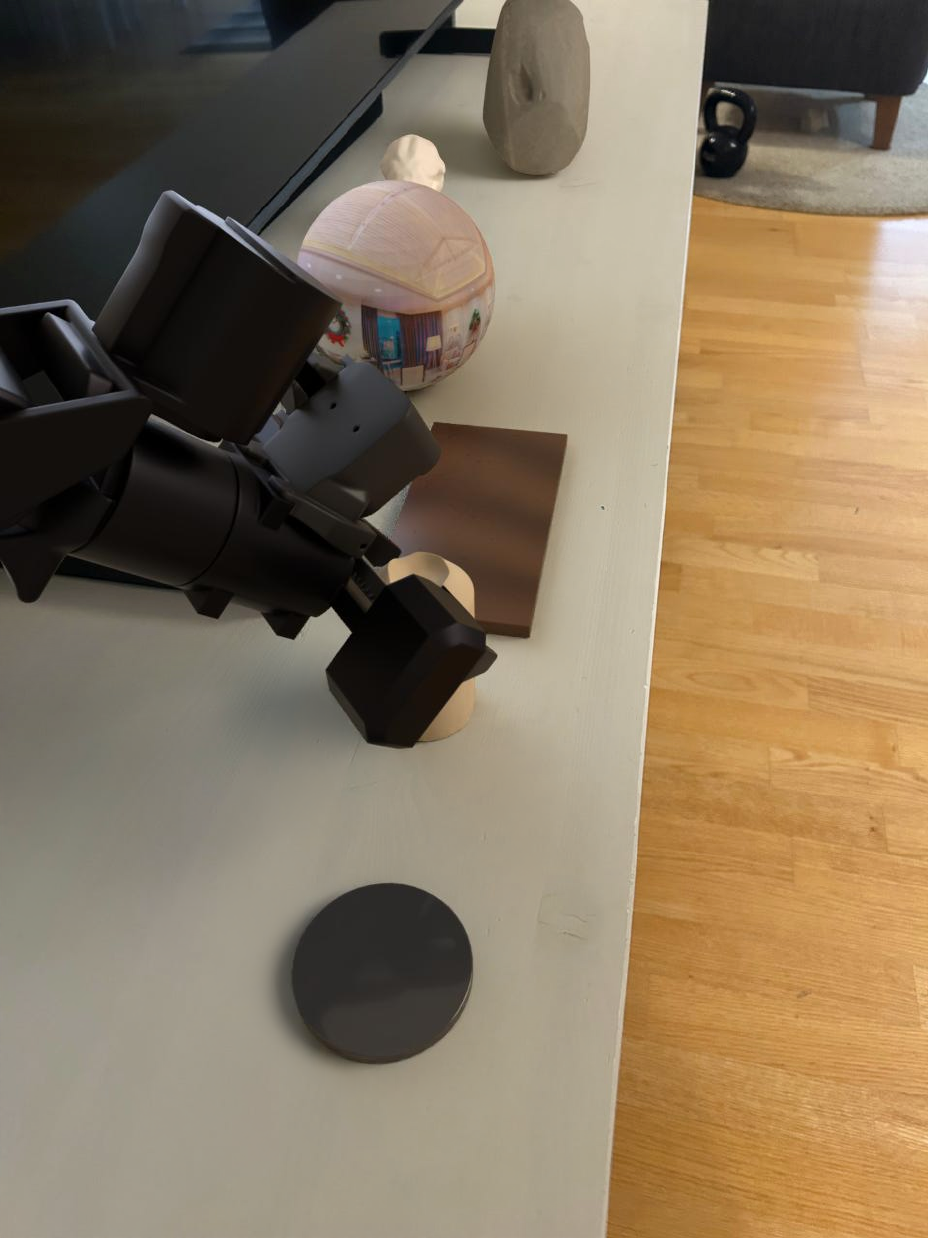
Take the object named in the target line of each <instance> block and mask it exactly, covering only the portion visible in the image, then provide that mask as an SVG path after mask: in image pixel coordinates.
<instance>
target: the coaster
mask: <svg viewBox="0 0 928 1238" xmlns="http://www.w3.org/2000/svg"><path fill="white" fill-rule="evenodd" d="M291 964H292V965H291V971H290V973H291V975H290V976H291V980H290V981H291V988H292V995H293V998H294V1001H295V1004H296V1005H295V1006H296V1008H297V1011H298V1013H299V1015H300V1018H301V1019H302V1021H303V1022H302V1023H304V1025H305V1027H306V1028H307V1030H308V1031H309V1033H311V1035H312V1036H313V1037H314V1038H315V1039H316V1040H317V1042H319V1043H320V1044H322V1045H323V1046H324V1047H325V1048H327V1049H328V1050H329V1051H331V1052H333V1053H335V1054H336V1055H339V1056H340V1057H343V1058H345V1059H348V1060H351V1061H356V1062H359V1063H364V1064H365V1063H367V1064H389V1063H396V1062H400V1061H404V1060H407V1059H410V1058H413V1057H415V1056H418V1055H419V1054H422V1053H423V1052H425V1051H427V1050H428V1049H430V1048H432V1047H433V1046H435V1045H436V1044H438V1043H439V1042H440V1041H441V1040H442V1039H443V1038H445V1036H446V1035H448V1033H449V1032H450V1031H451V1030H452V1029H453V1028H454V1027H455V1025H456V1024H457V1022H458V1021H459V1020H460V1018H461V1016H462V1014H463V1013H464V1011H465V1009H466V1007H467V1004H468V1001H469V999H470V995H471V993H472V988H473V980H474V956H473V948H472V944H471V941H470V938H469V935H468V932H467V931H466V928H465V926H464V924H463V922H462V921H461V919H460V918H459V917H458V915H457V914H456V912H454V911H453V908H451V907H450V906H449V905H447V903H445V902H444V901H443V900H442V899H440V898H438V897H437V896H436V895H435V894H432V893H430V892H429V891H427V890H425V889H422V888H419V887H417V886H414V885H409V884H405V883H398V882H377V883H370V884H366V885H362V886H358V887H356V888H353V889H351V890H348V891H346V892H344V893H342V894H340V895H338V896H337V897H335V898H334V899H333V900H331V901H329V902H328V903H326V905H324V906H323V907H322V908H320V910H319V911H318V912H317V913H316V914H315V915H314V916H313V917H312V918H311V920H310V921H309V923H307V925H306V927H305V928H304V930H303V932H302V933H301V936H300V937H299V939H298V942H297V944H296V947H295V950H294V954H293V957H292V963H291Z"/></svg>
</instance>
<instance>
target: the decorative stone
mask: <svg viewBox="0 0 928 1238" xmlns="http://www.w3.org/2000/svg"><path fill="white" fill-rule="evenodd" d="M492 40H493V41H492V45H491V50H490V55H489V60H488V67H487V74H486V81H485V88H484V97H483V104H482V105H483V106H482V121H483V125H484V129H485V131H486V135H487V136H488V137H489V140H490V142H491V143H492V145H493V147H494V148H495V150H496V151H497V153H498V155H499V156H500V157H501V159H502V160H503V161H504V163H506V164H507V165H508V167H510V168H511V169H512V170H514V171H516V172H519V173H521V174H525V175H532V176H542V175H550V174H554V173H557V172H561V171H563V170H565V169H567V167H569V165H570V164H571V163H572V162H573V161H574V159H576V156H577V155H578V153H579V152H580V150H581V148H582V146H583V143H584V141H585V138H586V135H587V130H588V123H589V122H588V121H589V110H590V109H589V108H590V95H591V55H590V54H591V49H590V44H589V41H588V38H587V33H586V29H585V23H584V16H583V14H582V12H581V11H580V9H579V8H578V6H577V5H576V4H575V3H574V2H573V1H571V0H505V1H504V3H503V5H502V7H501V8H500V12H499V15H498V20H497V23H496V27H495V32H494V35H493V39H492Z"/></svg>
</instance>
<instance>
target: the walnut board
mask: <svg viewBox="0 0 928 1238" xmlns="http://www.w3.org/2000/svg"><path fill="white" fill-rule="evenodd" d="M430 431H431V433H432V434H433V436H434V437H435V439H436V441H437V442H438V444H439V445H440V448H441V455H440V458H439V460H438V462H437V464H436V465H435V466H434V467H433V468H432V469H431V470H430V471H429V472H428V473H427V474H425V475H423V476H418V477H417V478H415V479H414V480H413V481H412V482H411V483H410V484H409V487H408V490H407V493H406V496H405V499H404V501H403V504H402V506H401V510H400V513H399V515H398V518H397V520H396V523H395V526H394V528H393V530H392V534H391V537H390V538H389V539H390V540H391V541H392V542H393V543H395V544H396V545H397V546H398V547H399V548H400V549H401V555H400V556H399V557H398V559H399V558H402V557H405V556H409V555H411V554H413V553H415V552H426V553H430V554H434V555H438V556H440V557H442V558H443V559H445V560H447V561H449V562H451V563H453V564H455V565H457V566H458V567H460V568H461V569H462V570H463V571H464V572H465V573H466V574H467V575H468V576H469V578H470V579H471V581H472V583H473V587H474V618H475V621H476V622H477V623H478V624H479V625H480V626H481V627H482V628H483V630H484V631H485V632H486V634H493V635H494V634H495V635H503V636H511V637H519V638H526V639H527V638H528V639H529V638H530V637H531V633H532V628H533V624H534V618H535V614H536V613H535V612H536V606H537V602H538V597H539V591H540V586H541V581H542V576H543V571H544V566H545V561H546V556H547V551H548V547H549V546H548V545H549V541H550V535H551V530H552V524H553V519H554V514H555V510H556V509H555V508H556V505H557V499H558V495H559V488H560V483H561V479H562V472H563V467H564V462H565V457H566V451H567V446H568V438H569V437H568V434H567V433H557V432H549V431H536V430H526V429H517V428H515V429H514V428H506V427H505V428H504V427H495V426H494V427H493V426H483V425H475V424H473V425H472V424H463V423H451V422H441V421H433V422H432V425H431V427H430ZM380 568H382V567H379V569H380Z"/></svg>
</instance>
